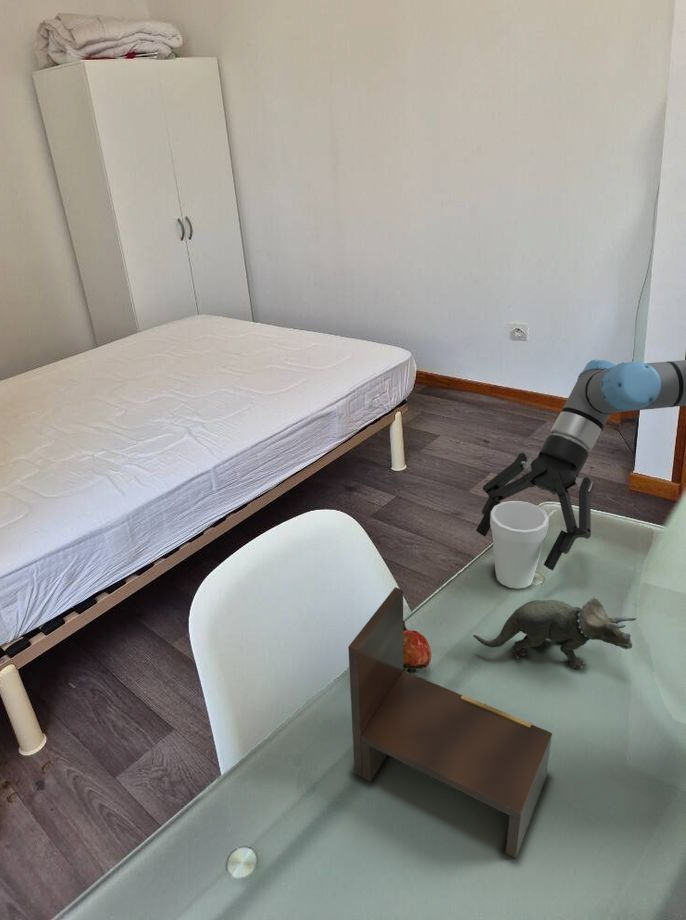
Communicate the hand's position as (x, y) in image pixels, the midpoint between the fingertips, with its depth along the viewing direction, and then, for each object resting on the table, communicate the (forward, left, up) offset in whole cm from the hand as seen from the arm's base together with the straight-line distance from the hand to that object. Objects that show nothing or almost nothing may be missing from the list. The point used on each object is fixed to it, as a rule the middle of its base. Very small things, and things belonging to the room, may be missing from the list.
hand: (512, 550), depth 119 cm
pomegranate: (+7, +28, -7) cm, 29 cm away
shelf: (-6, +41, -6) cm, 42 cm away
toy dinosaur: (-10, +14, -7) cm, 19 cm away
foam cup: (0, -1, -7) cm, 7 cm away
